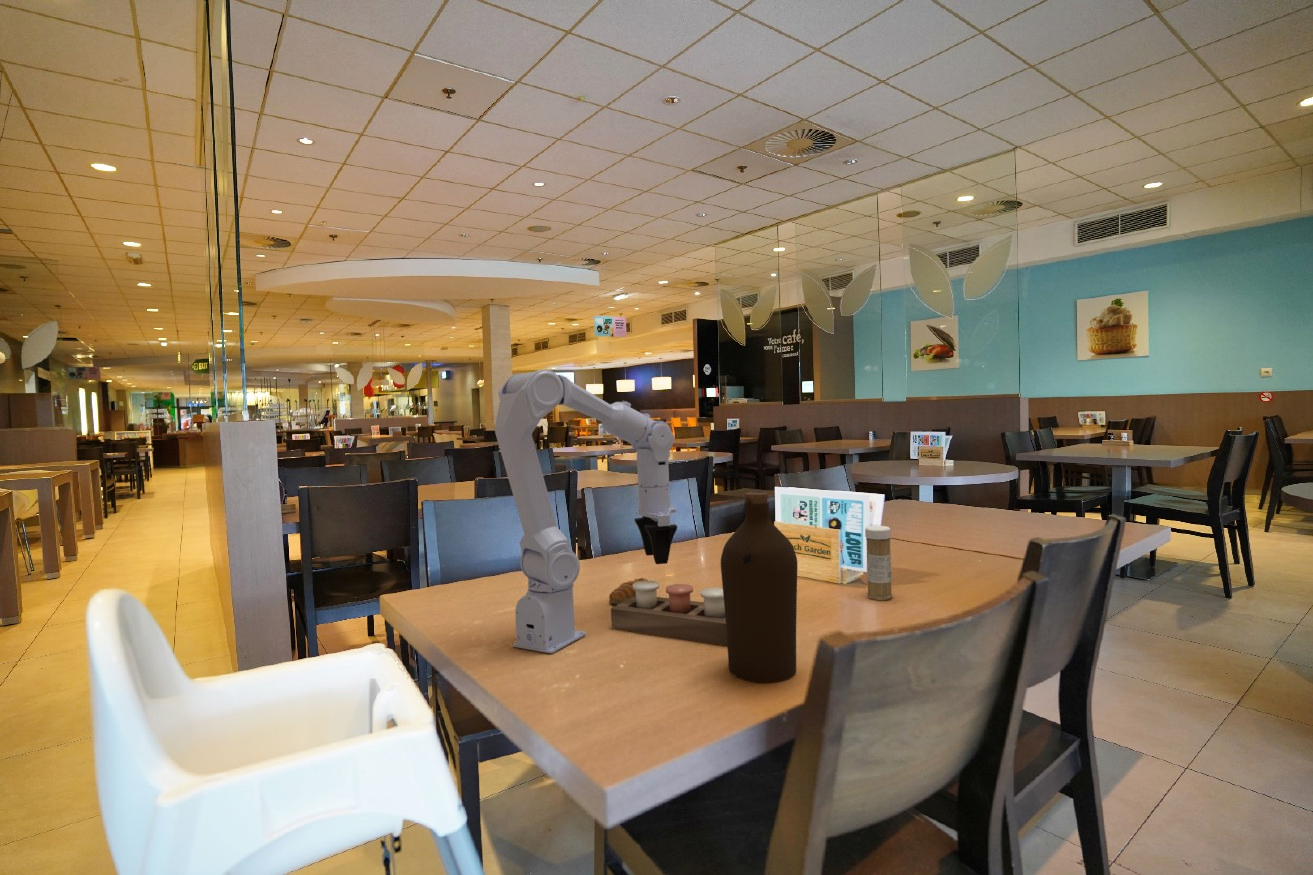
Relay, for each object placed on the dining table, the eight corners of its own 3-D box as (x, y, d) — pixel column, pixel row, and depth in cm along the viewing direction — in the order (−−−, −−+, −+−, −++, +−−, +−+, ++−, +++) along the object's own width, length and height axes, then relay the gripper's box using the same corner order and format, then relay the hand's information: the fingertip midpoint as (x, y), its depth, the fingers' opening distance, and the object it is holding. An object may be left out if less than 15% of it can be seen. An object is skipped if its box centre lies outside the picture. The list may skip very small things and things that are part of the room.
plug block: (730, 646, 102) (730, 624, 102) (611, 628, 112) (610, 608, 112) (751, 628, 110) (750, 607, 109) (638, 613, 120) (637, 594, 120)
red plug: (686, 616, 108) (685, 592, 108) (661, 613, 110) (660, 589, 110) (698, 608, 112) (697, 585, 112) (674, 605, 114) (673, 583, 114)
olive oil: (811, 681, 88) (805, 495, 87) (733, 688, 87) (726, 499, 86) (787, 652, 98) (782, 486, 97) (718, 658, 97) (711, 490, 96)
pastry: (625, 609, 123) (624, 589, 123) (600, 604, 128) (599, 585, 128) (657, 597, 131) (656, 578, 131) (632, 593, 135) (631, 574, 135)
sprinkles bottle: (875, 592, 127) (873, 524, 127) (897, 597, 124) (895, 526, 123) (862, 597, 124) (860, 527, 124) (883, 602, 121) (881, 530, 120)
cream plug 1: (651, 612, 111) (650, 588, 111) (628, 609, 113) (627, 586, 113) (664, 604, 115) (663, 582, 115) (642, 601, 117) (641, 579, 117)
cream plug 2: (722, 621, 105) (721, 596, 104) (696, 617, 107) (695, 593, 107) (733, 613, 109) (732, 589, 108) (708, 609, 111) (707, 586, 111)
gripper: (685, 488, 114) (688, 565, 115) (664, 480, 128) (667, 549, 129) (646, 491, 113) (649, 569, 113) (629, 483, 127) (632, 552, 127)
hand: (656, 559), depth 121 cm, fingers open, 7 cm apart
